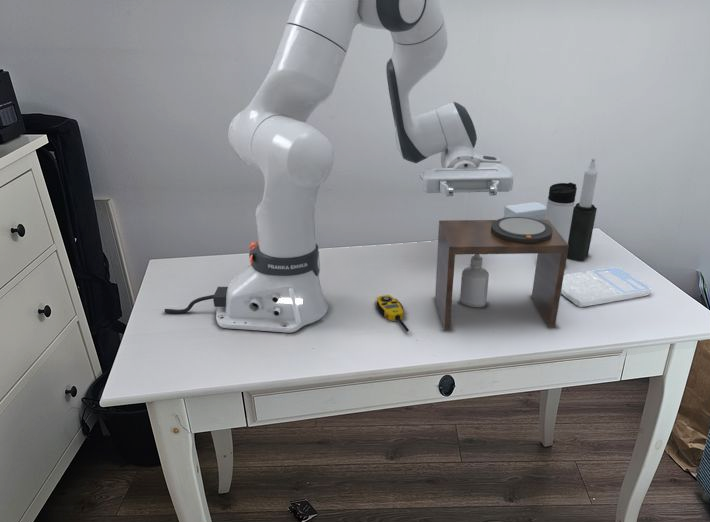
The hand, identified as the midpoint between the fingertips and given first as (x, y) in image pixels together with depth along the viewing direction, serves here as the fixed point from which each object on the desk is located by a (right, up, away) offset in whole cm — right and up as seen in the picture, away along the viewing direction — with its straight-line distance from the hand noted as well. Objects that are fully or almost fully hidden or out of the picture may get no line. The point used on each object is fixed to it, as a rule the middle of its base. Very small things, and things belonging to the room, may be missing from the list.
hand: (471, 192), depth 133 cm
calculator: (+30, -20, +10) cm, 37 cm away
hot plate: (+9, -11, -11) cm, 17 cm away
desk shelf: (+4, -26, -2) cm, 26 cm away
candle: (+29, -10, +26) cm, 40 cm away
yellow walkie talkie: (-16, -27, -5) cm, 32 cm away
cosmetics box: (+16, -6, +31) cm, 36 cm away
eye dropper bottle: (0, -24, +2) cm, 24 cm away
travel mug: (+22, -13, +21) cm, 33 cm away
